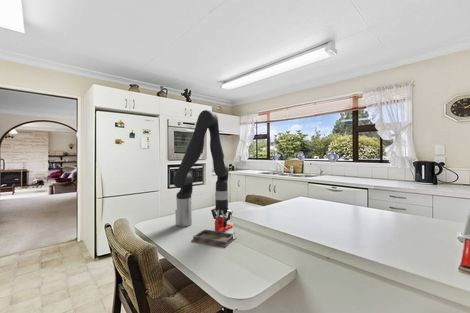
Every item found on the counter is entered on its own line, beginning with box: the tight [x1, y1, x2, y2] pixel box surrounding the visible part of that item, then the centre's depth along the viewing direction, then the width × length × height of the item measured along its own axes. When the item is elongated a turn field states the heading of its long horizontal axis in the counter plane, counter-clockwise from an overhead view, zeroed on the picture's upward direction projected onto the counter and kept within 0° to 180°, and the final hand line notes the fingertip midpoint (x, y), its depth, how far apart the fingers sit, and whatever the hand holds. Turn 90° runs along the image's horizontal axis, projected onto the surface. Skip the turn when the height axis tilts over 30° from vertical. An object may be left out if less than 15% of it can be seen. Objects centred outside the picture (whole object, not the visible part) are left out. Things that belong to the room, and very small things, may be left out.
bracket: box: [214, 215, 233, 233], centre depth 132 cm, size 12×4×8 cm, turn 144°
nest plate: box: [191, 229, 235, 248], centre depth 117 cm, size 20×13×2 cm, turn 66°
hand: (221, 226), depth 131 cm, fingers open, 3 cm apart
